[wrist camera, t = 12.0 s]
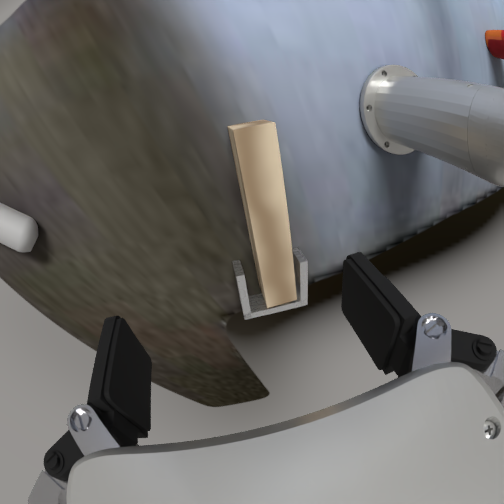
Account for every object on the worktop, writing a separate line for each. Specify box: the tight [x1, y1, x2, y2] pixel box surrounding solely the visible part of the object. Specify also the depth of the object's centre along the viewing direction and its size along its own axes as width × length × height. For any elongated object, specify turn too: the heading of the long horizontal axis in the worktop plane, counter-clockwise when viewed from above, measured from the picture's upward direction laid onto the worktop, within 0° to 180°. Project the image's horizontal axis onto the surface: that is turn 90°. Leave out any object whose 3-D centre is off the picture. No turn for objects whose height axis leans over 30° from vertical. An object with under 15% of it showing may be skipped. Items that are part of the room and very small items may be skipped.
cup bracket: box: [232, 247, 308, 320], centre depth 37 cm, size 9×8×4 cm
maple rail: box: [227, 120, 297, 308], centre depth 31 cm, size 4×22×5 cm, turn 10°
